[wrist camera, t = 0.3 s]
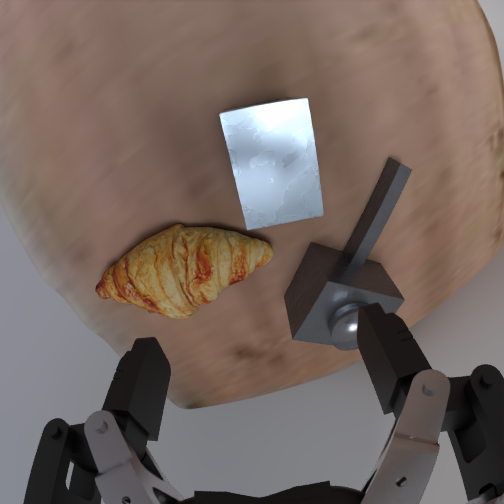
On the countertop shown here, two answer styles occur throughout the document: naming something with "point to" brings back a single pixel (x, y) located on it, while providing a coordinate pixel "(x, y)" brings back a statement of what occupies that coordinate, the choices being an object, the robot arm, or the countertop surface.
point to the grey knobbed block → (346, 274)
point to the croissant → (182, 269)
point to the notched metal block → (274, 161)
